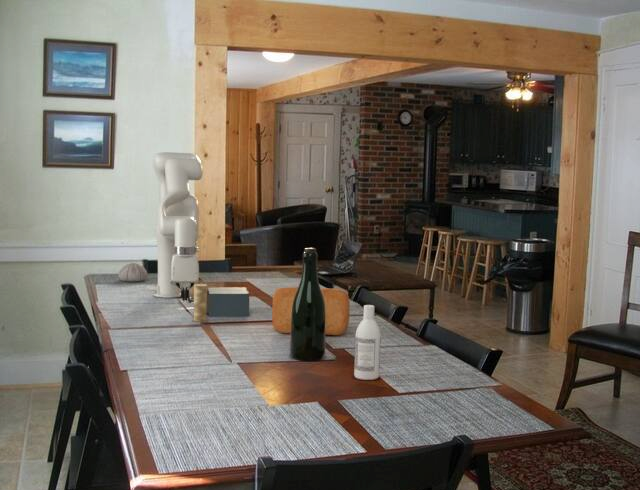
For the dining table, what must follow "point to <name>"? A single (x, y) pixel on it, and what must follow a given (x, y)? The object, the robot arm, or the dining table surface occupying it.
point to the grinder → (200, 302)
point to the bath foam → (367, 347)
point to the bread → (334, 310)
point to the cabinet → (228, 301)
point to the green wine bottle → (308, 313)
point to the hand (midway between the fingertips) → (184, 300)
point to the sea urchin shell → (133, 273)
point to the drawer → (207, 301)
